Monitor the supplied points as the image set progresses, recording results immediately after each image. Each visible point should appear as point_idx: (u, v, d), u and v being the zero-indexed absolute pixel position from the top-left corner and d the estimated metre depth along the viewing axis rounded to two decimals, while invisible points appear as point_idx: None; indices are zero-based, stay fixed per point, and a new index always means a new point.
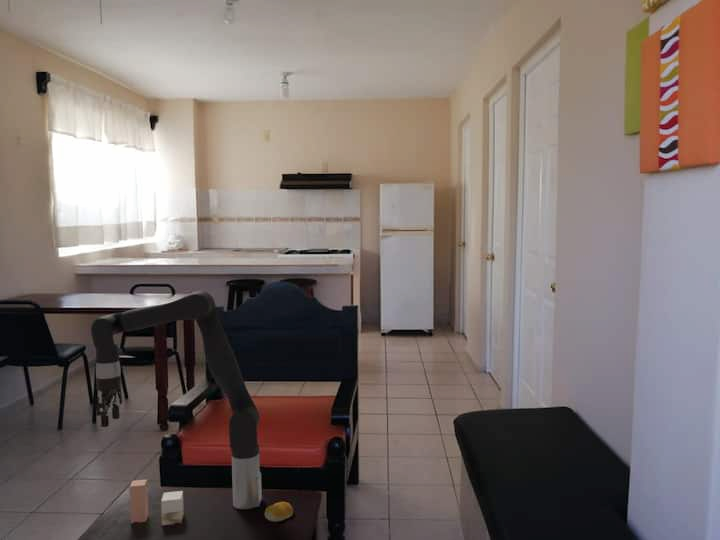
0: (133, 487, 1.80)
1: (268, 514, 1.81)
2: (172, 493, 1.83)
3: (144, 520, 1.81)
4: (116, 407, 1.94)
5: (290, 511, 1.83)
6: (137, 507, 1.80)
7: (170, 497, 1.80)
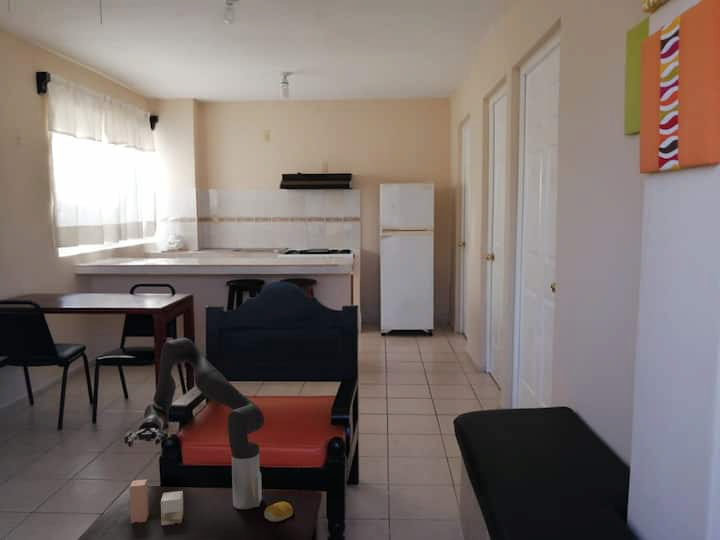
0: (133, 487, 1.80)
1: (268, 514, 1.81)
2: (172, 493, 1.83)
3: (144, 520, 1.81)
4: None
5: (290, 511, 1.83)
6: (137, 507, 1.80)
7: (170, 497, 1.80)
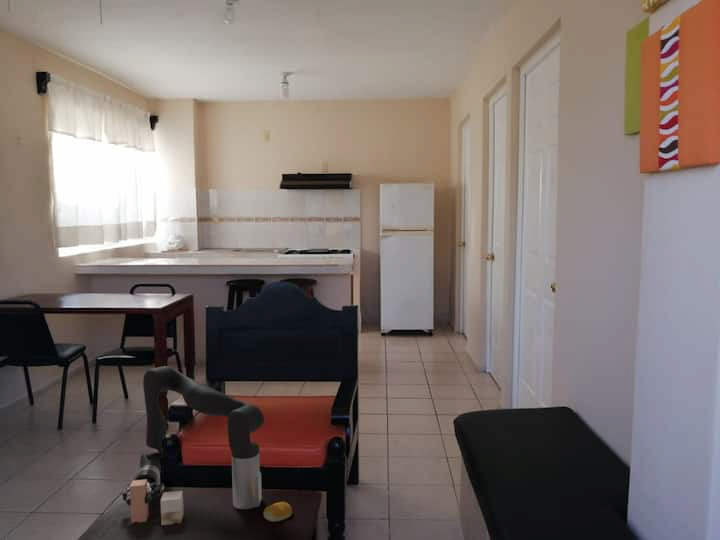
0: (133, 487, 1.80)
1: (267, 514, 1.81)
2: (172, 493, 1.84)
3: (144, 520, 1.81)
4: None
5: (289, 511, 1.83)
6: (138, 507, 1.80)
7: (170, 497, 1.80)
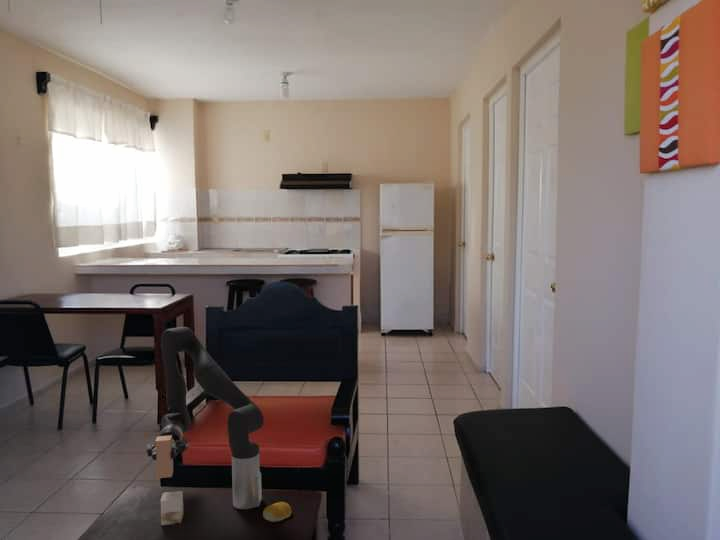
0: (159, 442, 1.78)
1: (267, 514, 1.81)
2: (172, 493, 1.84)
3: (169, 476, 1.79)
4: None
5: (289, 511, 1.82)
6: (163, 462, 1.79)
7: (170, 497, 1.80)
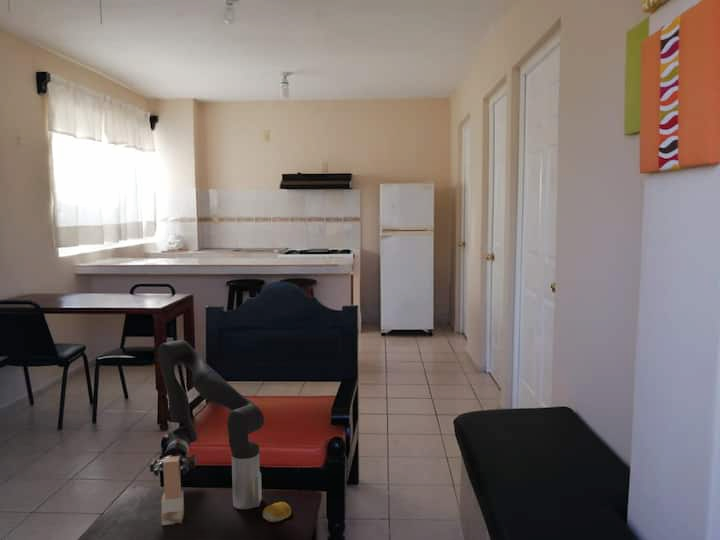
0: (166, 463, 1.79)
1: (266, 514, 1.81)
2: None
3: (177, 497, 1.80)
4: None
5: (288, 511, 1.82)
6: (171, 484, 1.79)
7: None
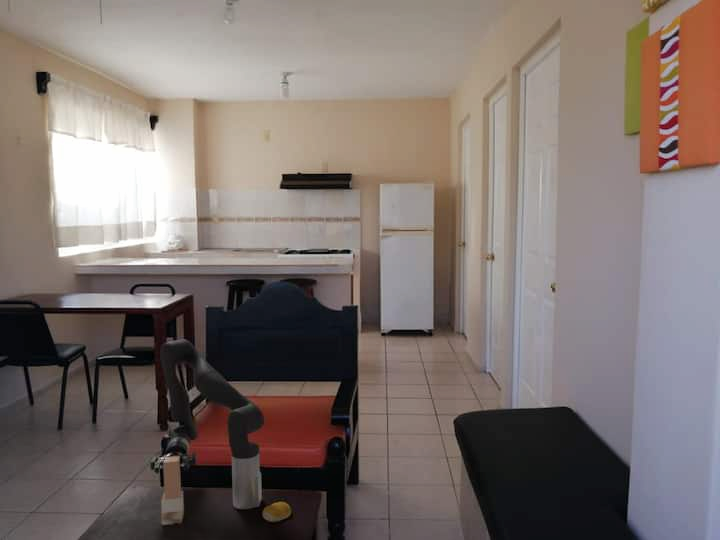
0: (167, 463, 1.79)
1: (266, 514, 1.81)
2: None
3: (177, 497, 1.80)
4: None
5: (288, 511, 1.82)
6: (171, 484, 1.79)
7: None
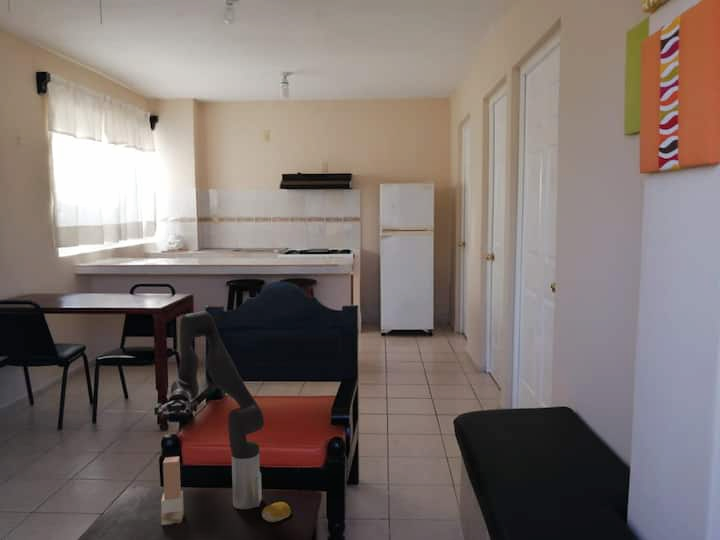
0: (166, 463, 1.79)
1: (266, 514, 1.81)
2: None
3: (177, 497, 1.80)
4: None
5: (288, 511, 1.82)
6: (171, 484, 1.79)
7: None
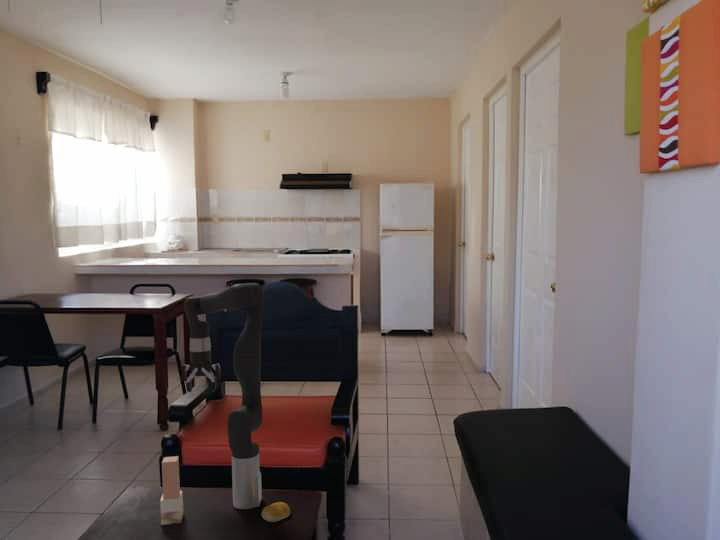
0: (165, 463, 1.79)
1: (265, 514, 1.81)
2: None
3: (176, 497, 1.80)
4: None
5: (287, 511, 1.82)
6: (170, 484, 1.79)
7: None
